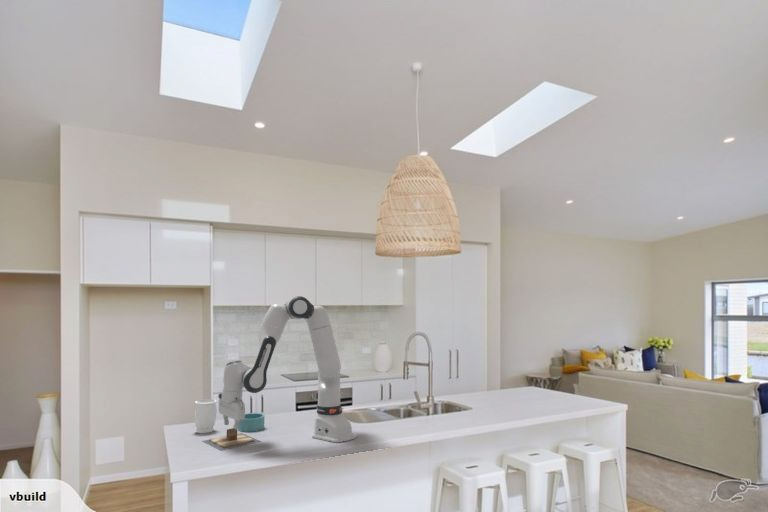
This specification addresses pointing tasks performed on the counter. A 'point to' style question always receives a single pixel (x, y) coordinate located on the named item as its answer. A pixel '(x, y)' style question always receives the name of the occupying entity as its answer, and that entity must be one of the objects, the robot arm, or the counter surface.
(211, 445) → the mat
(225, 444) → the lid
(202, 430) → the jar
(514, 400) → the counter surface
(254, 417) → the bowl
